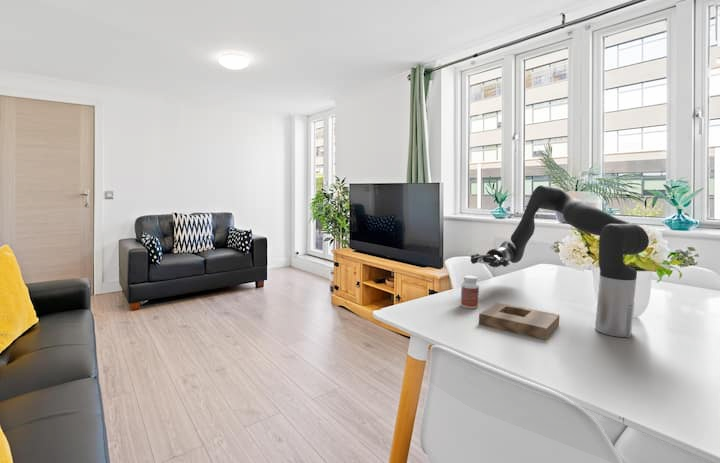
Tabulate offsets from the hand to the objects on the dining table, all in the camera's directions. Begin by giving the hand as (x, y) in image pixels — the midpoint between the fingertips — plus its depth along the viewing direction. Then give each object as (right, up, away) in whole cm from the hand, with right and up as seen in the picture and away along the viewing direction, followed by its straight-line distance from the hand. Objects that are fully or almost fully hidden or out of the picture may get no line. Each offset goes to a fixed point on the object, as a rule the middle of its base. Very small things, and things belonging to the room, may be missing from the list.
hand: (483, 262), depth 150 cm
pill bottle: (-8, -16, -8) cm, 19 cm away
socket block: (+3, -18, -26) cm, 32 cm away
